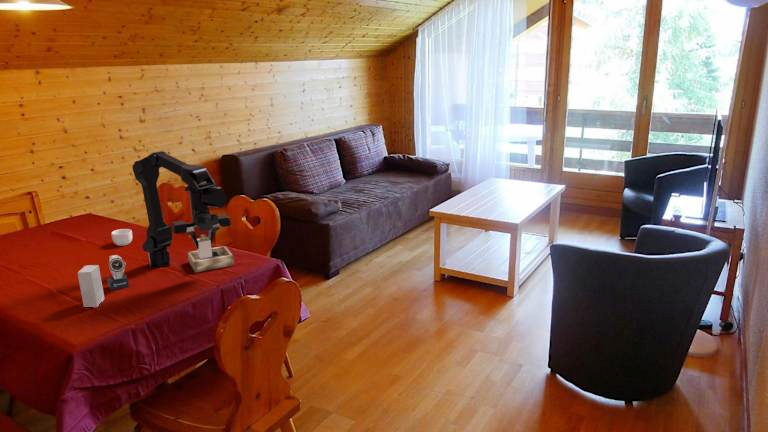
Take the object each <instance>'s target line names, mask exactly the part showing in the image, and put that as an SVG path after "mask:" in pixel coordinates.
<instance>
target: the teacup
mask: <svg viewBox="0 0 768 432" xmlns="http://www.w3.org/2000/svg"><path fill="white" fill-rule="evenodd" d="M111 239H112V242H113V244H114V245H117V246H118V247H119V246H120V247H121V246H128V245H129V244H130V243H131V242H132V241H133V231H132V229H129V228H120V229H115V230H113V231H112V232H111Z"/></svg>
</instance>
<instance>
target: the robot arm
mask: <svg viewBox="0 0 768 432" xmlns="http://www.w3.org/2000/svg"><path fill="white" fill-rule="evenodd" d="M161 168H163V169H165V170H167V171H169V172H171V173H172V174H175V175H177V176H178V177H180V180H181V181H182V183H185V184H186V185H187V186H186V187H185V188H184V191H185V192H188V194H189V201H190V211H191V219H192V222H185V220H178V221H173V222H172V223H171V225H168V224H167V223H166V222H165V220H164V217H163V215H164V214H163V211H162V207H161V206H162V203H161V201H160V195H159V194H160V193H159V188H158V180H159V177H160V169H161ZM132 172H133V174H134V178H135V179H136V181H137V182H138V183H139V184H140V185H141V188H142V193H143V198H144V203H145V208H146V214H147V218H148V224H149V225H148V226H147V229H146V232H145V234H146V240H145V241H144V242H143V244H142V245H141V246H142V247H141V248H142V250H143V251H144V252H146V253H148V260H149V262H148V264H149V266H150V269H156V268H162V267H167V266H168V267H169V266H170V263H171V258H170V257H171V256H170V250H168V248H170V247H172V241H173V237H174V235H173V233H174V234H175V235H178V234H183V233H184V234H186V235H190V237H191V239H192V241H193V243H194V245H195V247H196V249H199V247H198V241H197V239H198V238H197V232H196V230H195V228H197V230H198V231H199V232H204V231H208V238H209V239H210V240H211V248H213V247H212V246H213V242H214V238H215V235H216V233H217V232H218V230H221V228H225V227H231V226H232V222H231V221H232V220H231V218H230V217H229V216H228V215H226V214H219V215H218V213H212V214H211V213H210V208H211V207H212V208H217V209H221V208H223V207H225V205H226V204H227V200H228V197H227V194H226V192H225V191H224V190H222V187H221V186H217V184H216V182H215V180H214V179H213V177H212V176H211V175H210V173H209V171H208V169H207V168H206V167H205V166H201V165H199V164H188V163H186V162H184V161H183V160H180V159H178V158H176V157H175V156H173V155H170V154H168V153H167V152H166V151H163V150H160V151H154V152H151V153H150V154H148V155H147V156H146V157H143V158H142V159H139V160H136V161H134V163H133V164H132ZM209 207H210V208H209Z"/></svg>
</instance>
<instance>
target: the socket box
mask: <svg viewBox="0 0 768 432" xmlns="http://www.w3.org/2000/svg"><path fill="white" fill-rule="evenodd" d="M211 249H212V257H208V258H202V259H200V257H199V256H198V250H192V251H188V252H187V258H188V260H187V261H188V263H189V265H190V268H191V269H192V270H193V272H194V273H200V272H206V271H211V270H217V269H222V268H227V267H228V268H229V267H233V266H235V262H234V254H233V253H232V252H231V251H230V250H229V248H228V247H227V246H226V245H223V246H217V247H211Z"/></svg>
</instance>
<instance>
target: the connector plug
mask: <svg viewBox="0 0 768 432" xmlns="http://www.w3.org/2000/svg"><path fill="white" fill-rule="evenodd" d="M197 241H198V247H199V249H197V248H196V249H197V250H196V251H198V256H199V257H200V259H202V258H208V257H212V249H211V248H212V247H211V240H210V239H209V236H208V237H207V234H201V235H199V238H197Z"/></svg>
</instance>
